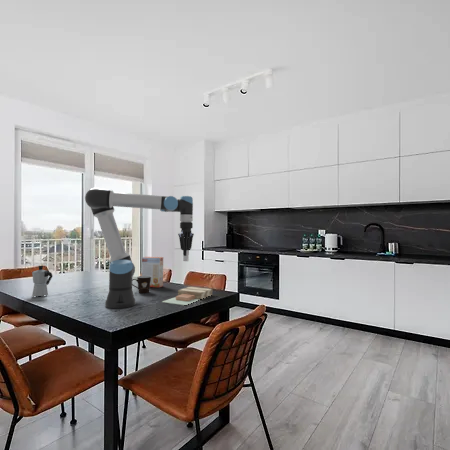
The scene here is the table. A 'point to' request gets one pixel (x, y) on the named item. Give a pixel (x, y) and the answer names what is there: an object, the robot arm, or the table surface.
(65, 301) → the table surface
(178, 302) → the mat
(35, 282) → the coffee maker
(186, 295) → the coaster
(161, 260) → the cracker box
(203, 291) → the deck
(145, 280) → the coffee mug
